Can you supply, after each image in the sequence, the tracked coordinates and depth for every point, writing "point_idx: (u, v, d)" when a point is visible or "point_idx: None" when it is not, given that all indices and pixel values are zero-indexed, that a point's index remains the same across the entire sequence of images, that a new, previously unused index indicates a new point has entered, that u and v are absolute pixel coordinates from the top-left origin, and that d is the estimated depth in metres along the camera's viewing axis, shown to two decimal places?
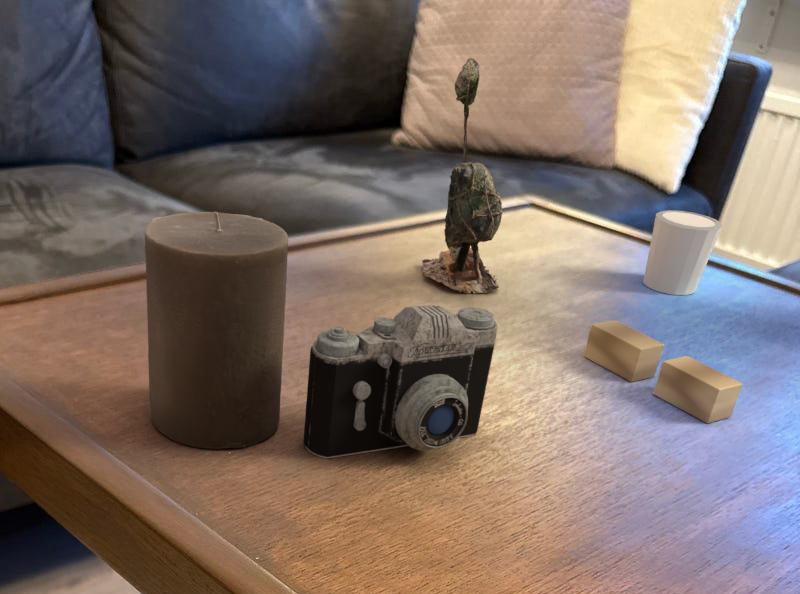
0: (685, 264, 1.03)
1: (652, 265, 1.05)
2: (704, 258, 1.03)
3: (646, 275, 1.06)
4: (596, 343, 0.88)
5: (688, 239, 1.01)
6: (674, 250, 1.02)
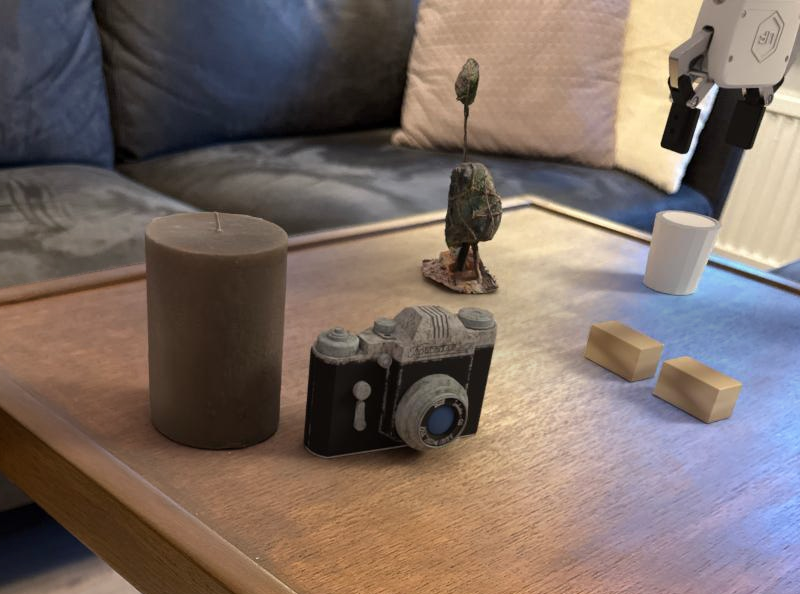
0: (685, 264, 1.03)
1: (652, 265, 1.05)
2: (704, 258, 1.03)
3: (646, 275, 1.06)
4: (596, 343, 0.88)
5: (688, 239, 1.01)
6: (674, 250, 1.02)
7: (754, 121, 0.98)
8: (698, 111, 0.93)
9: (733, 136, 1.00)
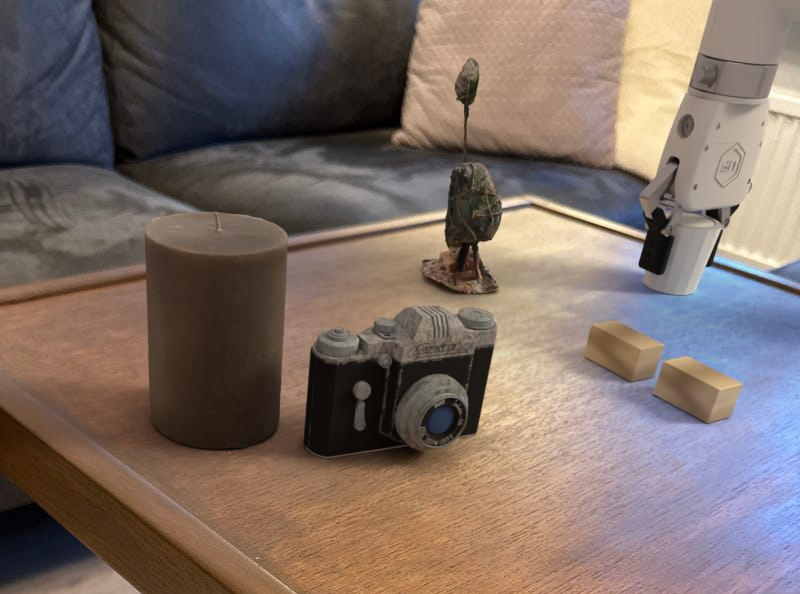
0: (685, 264, 1.03)
1: None
2: (704, 258, 1.03)
3: (646, 275, 1.06)
4: (596, 343, 0.88)
5: (688, 239, 1.01)
6: (674, 250, 1.02)
7: None
8: (671, 238, 1.01)
9: None
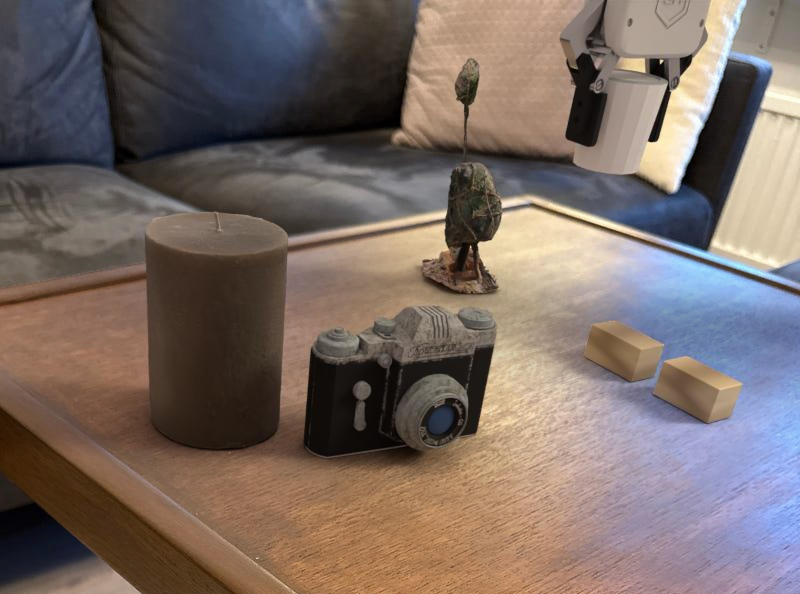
0: (622, 132, 0.81)
1: None
2: (646, 124, 0.81)
3: (576, 151, 0.85)
4: (596, 343, 0.88)
5: (624, 97, 0.80)
6: (607, 113, 0.81)
7: None
8: (603, 96, 0.79)
9: None
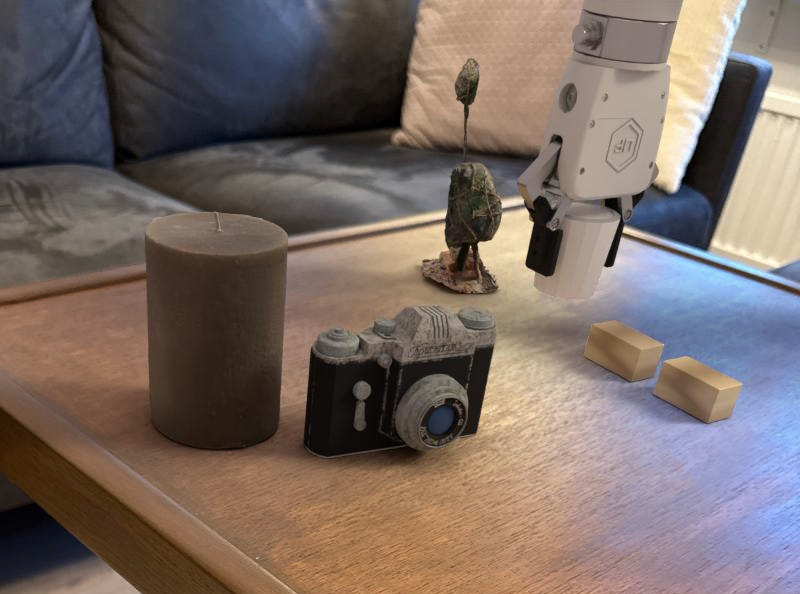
0: (577, 263, 0.87)
1: None
2: (600, 256, 0.87)
3: (536, 276, 0.90)
4: (596, 343, 0.88)
5: (579, 233, 0.85)
6: (563, 247, 0.86)
7: None
8: (559, 233, 0.85)
9: None
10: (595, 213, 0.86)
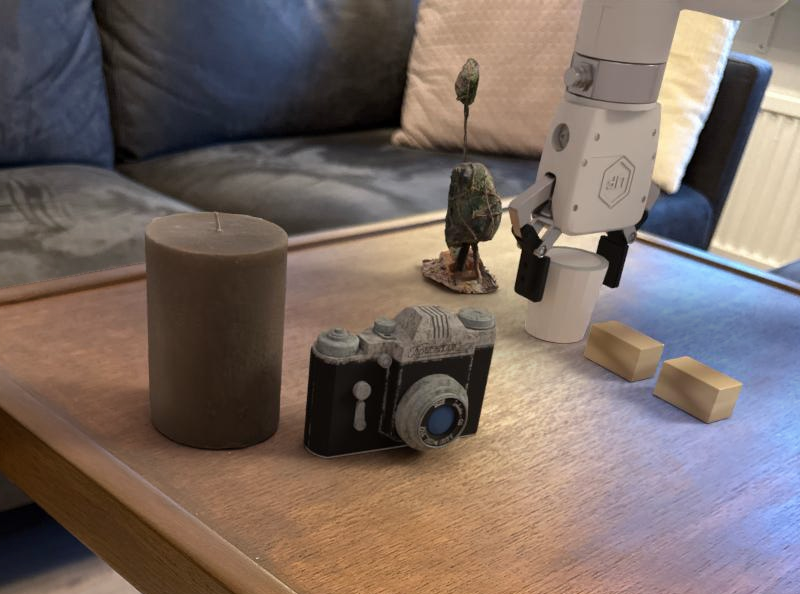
0: (567, 309, 0.89)
1: (531, 308, 0.91)
2: (589, 302, 0.89)
3: (527, 320, 0.93)
4: (596, 343, 0.88)
5: (568, 281, 0.87)
6: (553, 293, 0.89)
7: (617, 260, 0.91)
8: (546, 260, 0.85)
9: None
10: (584, 260, 0.89)
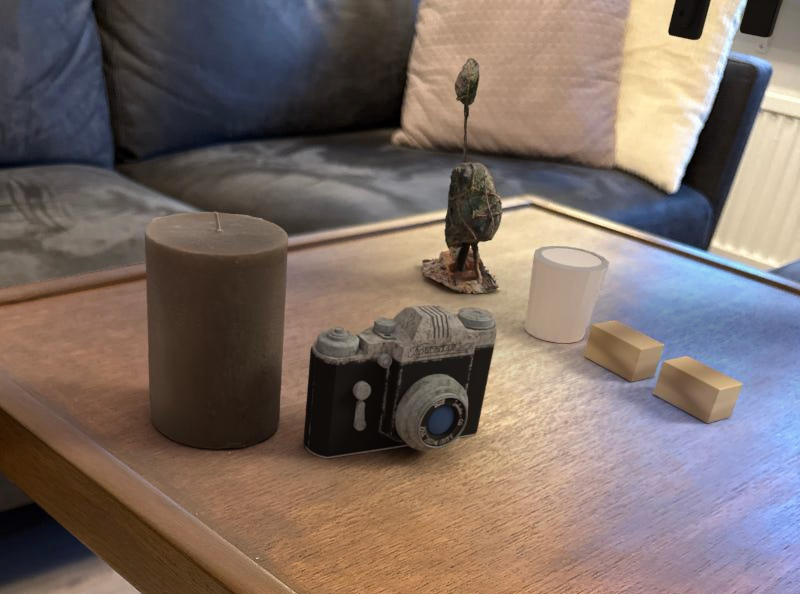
0: (567, 309, 0.89)
1: (531, 308, 0.91)
2: (589, 302, 0.89)
3: (527, 320, 0.93)
4: (596, 343, 0.88)
5: (568, 281, 0.87)
6: (553, 293, 0.89)
7: (773, 2, 0.86)
8: None
9: (749, 23, 0.88)
10: (584, 260, 0.89)
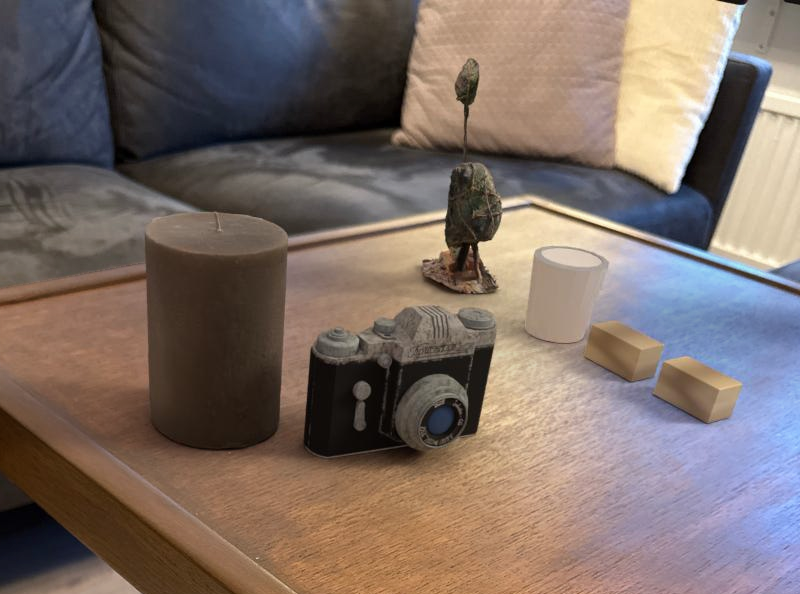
0: (567, 309, 0.89)
1: (531, 308, 0.91)
2: (589, 302, 0.89)
3: (527, 320, 0.93)
4: (596, 343, 0.88)
5: (568, 281, 0.87)
6: (553, 293, 0.89)
7: None
8: None
9: None
10: (584, 260, 0.89)
